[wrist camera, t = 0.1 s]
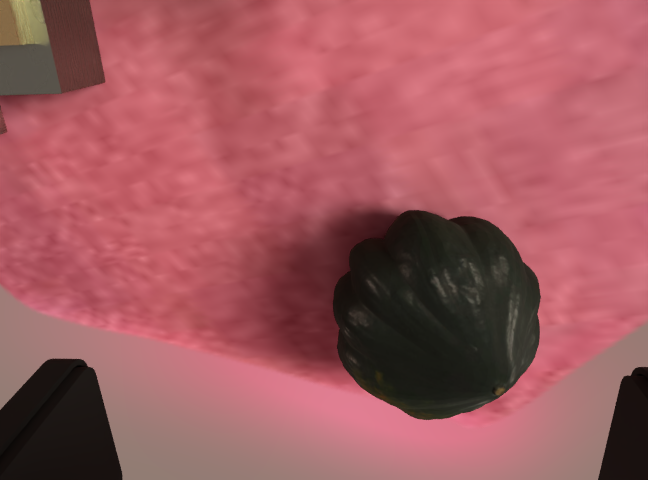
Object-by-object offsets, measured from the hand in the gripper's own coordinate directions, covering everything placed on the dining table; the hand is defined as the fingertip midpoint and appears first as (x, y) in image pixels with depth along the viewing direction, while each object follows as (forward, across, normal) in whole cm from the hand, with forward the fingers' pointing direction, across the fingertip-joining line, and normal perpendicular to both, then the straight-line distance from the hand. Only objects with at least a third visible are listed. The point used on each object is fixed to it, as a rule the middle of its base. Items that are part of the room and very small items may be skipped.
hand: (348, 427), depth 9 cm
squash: (+32, -5, +13) cm, 34 cm away
